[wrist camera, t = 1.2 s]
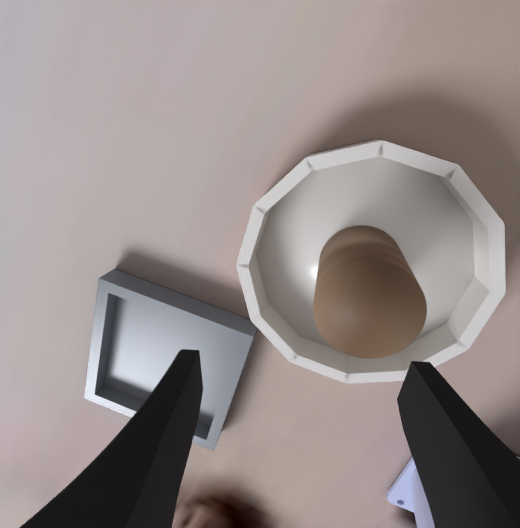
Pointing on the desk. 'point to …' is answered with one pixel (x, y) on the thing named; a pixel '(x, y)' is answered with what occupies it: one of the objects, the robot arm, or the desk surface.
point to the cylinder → (367, 294)
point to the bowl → (393, 223)
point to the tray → (163, 348)
